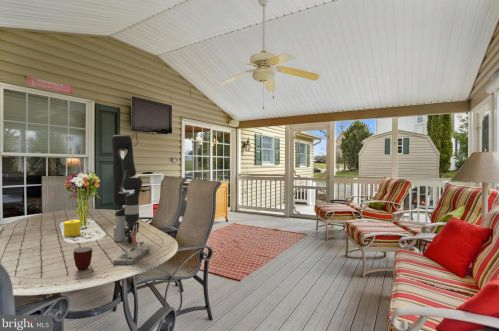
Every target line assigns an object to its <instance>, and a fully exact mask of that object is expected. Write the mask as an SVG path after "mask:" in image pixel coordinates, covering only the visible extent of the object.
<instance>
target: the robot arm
mask: <svg viewBox="0 0 499 331" xmlns="http://www.w3.org/2000/svg"><path fill="white" fill-rule="evenodd" d="M132 141H133V140H132V137H131V135H129V134H114V135H112V136H111V148H112V179H113V180H112V182H113V183H112V184H113V186H112V187H113V188H112V189H113V190H112V203H113V205H114V206H124V207H123V208H121V209H118V210H116V211H115V213H114V225H115V226H114V227H113V241H114V242H118V243H121V242H127V244H128V245H133V244H132V234H133V233H136V235H138V234H137V233H139V227H140V222H139V221H140V204H139V203H140V202H139V198H140V193H141V190H142V186H143V181H142V179H141V178H140V177H138V176H137V177H135V176H136V175H137V171H136V166H135V161H134V150H133V149H134V148H133V147H134V146H133V142H132ZM124 150H126V151H127V152H126V154H125V155H124V157H123V158H122V156H121V155H120V153H119V151H124ZM121 187H122V188H123V190H125V191H119V190H120V189H121ZM130 191H133V192H132V193H130ZM130 233H131V234H130Z"/></svg>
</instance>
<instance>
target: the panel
mask: <svg viewBox="0 0 499 331" xmlns="http://www.w3.org/2000/svg"><path fill="white" fill-rule="evenodd" d="M132 248H135V250H137V246H136V247H135V246H133V247H131V248H129V249H127V250H125V252H123V253H122V254H120V255H119V256H117V257H116V258H115V259H113V265H131V266H132V265H133V264H135V263H136V262H137V261H138V260H139V259H141V258H142V257H143V256H144V255H145V254H146V253H147V251H148V252H149V247H146V249H145V250H144V251H141V250H138V256H137V257H136V258H128V251H129V250H131V249H132Z"/></svg>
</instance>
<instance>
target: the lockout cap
mask: <svg viewBox="0 0 499 331" xmlns="http://www.w3.org/2000/svg"><path fill="white" fill-rule="evenodd" d="M130 234H131V233H130ZM136 243H137V234H136V233H133V234H132V244H131V245H134V244H136Z"/></svg>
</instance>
